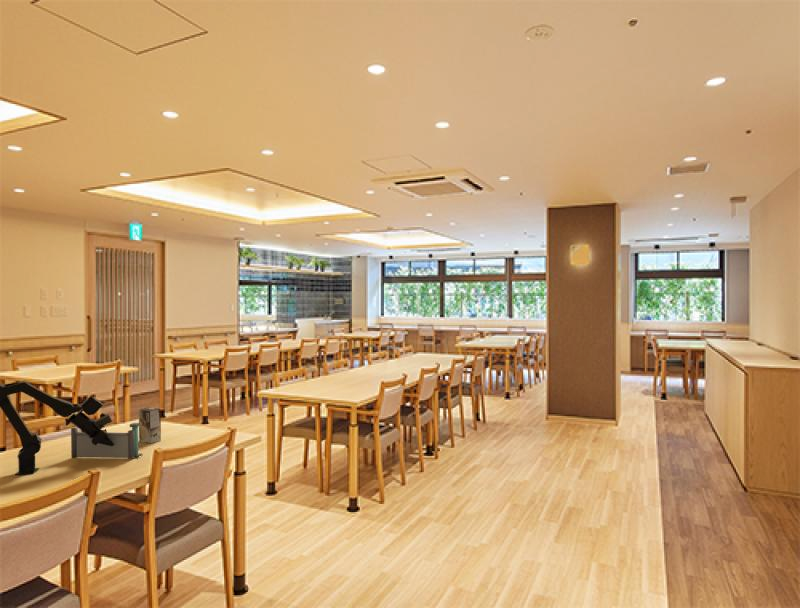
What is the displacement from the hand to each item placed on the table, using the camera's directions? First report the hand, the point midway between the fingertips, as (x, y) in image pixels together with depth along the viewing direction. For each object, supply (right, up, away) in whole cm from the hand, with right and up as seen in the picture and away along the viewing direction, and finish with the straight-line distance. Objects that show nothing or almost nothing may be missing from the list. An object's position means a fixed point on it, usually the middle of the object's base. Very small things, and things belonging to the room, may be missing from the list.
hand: (113, 445), depth 236 cm
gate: (-6, -6, +2) cm, 8 cm away
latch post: (+8, -6, +5) cm, 11 cm away
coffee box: (+2, -6, +31) cm, 31 cm away
